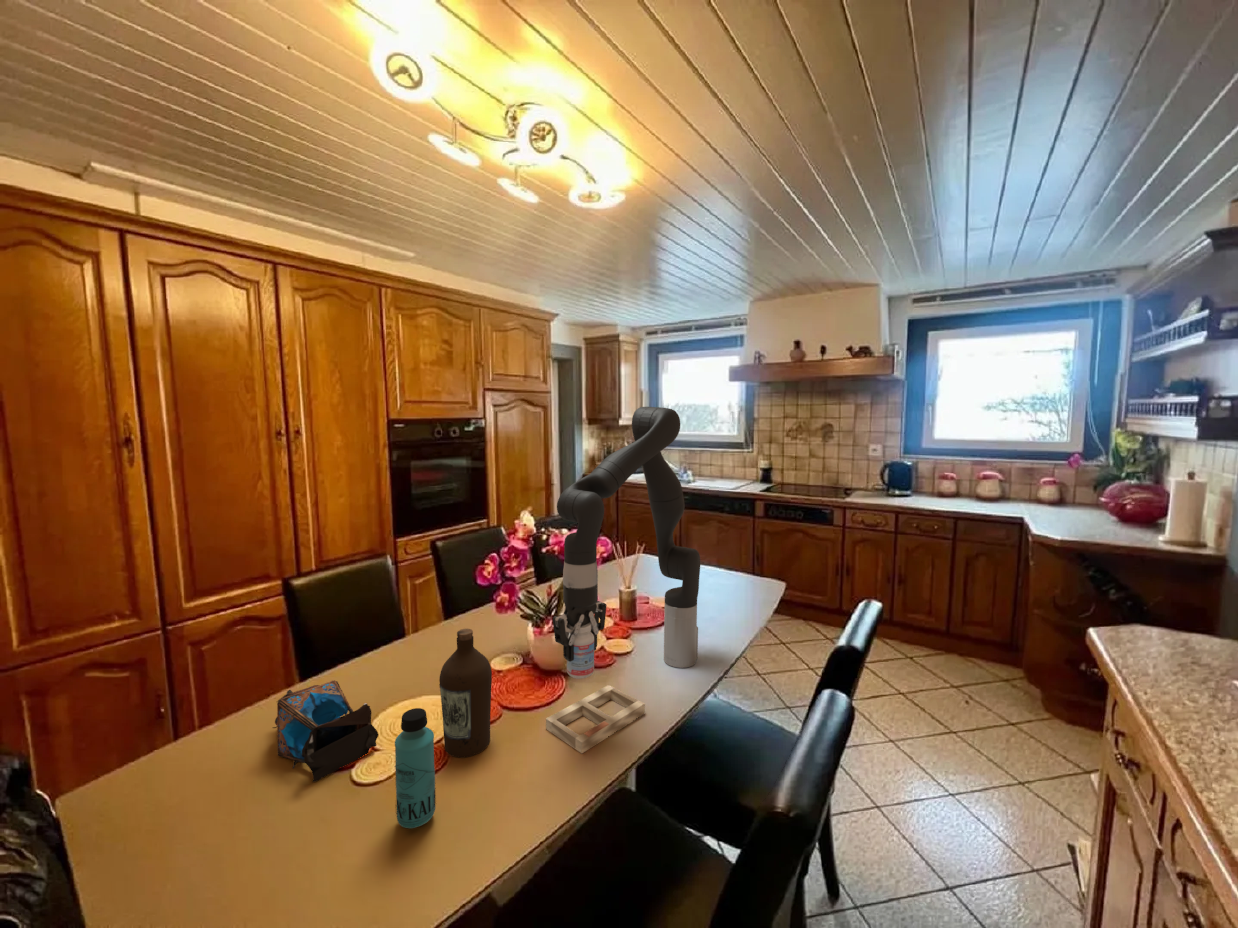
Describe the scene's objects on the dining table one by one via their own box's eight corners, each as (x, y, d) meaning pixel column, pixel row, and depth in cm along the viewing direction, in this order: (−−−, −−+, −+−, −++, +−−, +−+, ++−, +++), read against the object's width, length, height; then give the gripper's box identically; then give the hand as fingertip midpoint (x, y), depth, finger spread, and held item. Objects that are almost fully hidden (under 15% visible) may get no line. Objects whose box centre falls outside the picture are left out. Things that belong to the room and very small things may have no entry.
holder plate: (608, 694, 129) (608, 684, 129) (644, 713, 121) (644, 702, 121) (545, 729, 115) (545, 717, 115) (581, 753, 107) (581, 741, 106)
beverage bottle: (403, 809, 91) (399, 703, 89) (441, 807, 92) (438, 701, 90) (390, 839, 85) (385, 725, 83) (431, 836, 86) (427, 723, 84)
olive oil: (461, 724, 116) (458, 618, 114) (502, 733, 113) (500, 624, 111) (430, 754, 106) (426, 638, 104) (474, 765, 103) (472, 645, 101)
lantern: (352, 796, 103) (291, 746, 116) (399, 714, 110) (336, 675, 124) (284, 785, 91) (224, 730, 105) (342, 694, 99) (279, 654, 112)
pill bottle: (571, 682, 110) (571, 631, 108) (563, 669, 115) (563, 620, 114) (598, 676, 112) (598, 626, 111) (588, 663, 117) (588, 616, 116)
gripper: (592, 570, 119) (592, 639, 121) (543, 584, 109) (544, 660, 111) (615, 577, 114) (615, 649, 116) (566, 593, 104) (566, 672, 105)
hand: (580, 654), depth 113 cm, fingers closed on pill bottle, 6 cm apart
